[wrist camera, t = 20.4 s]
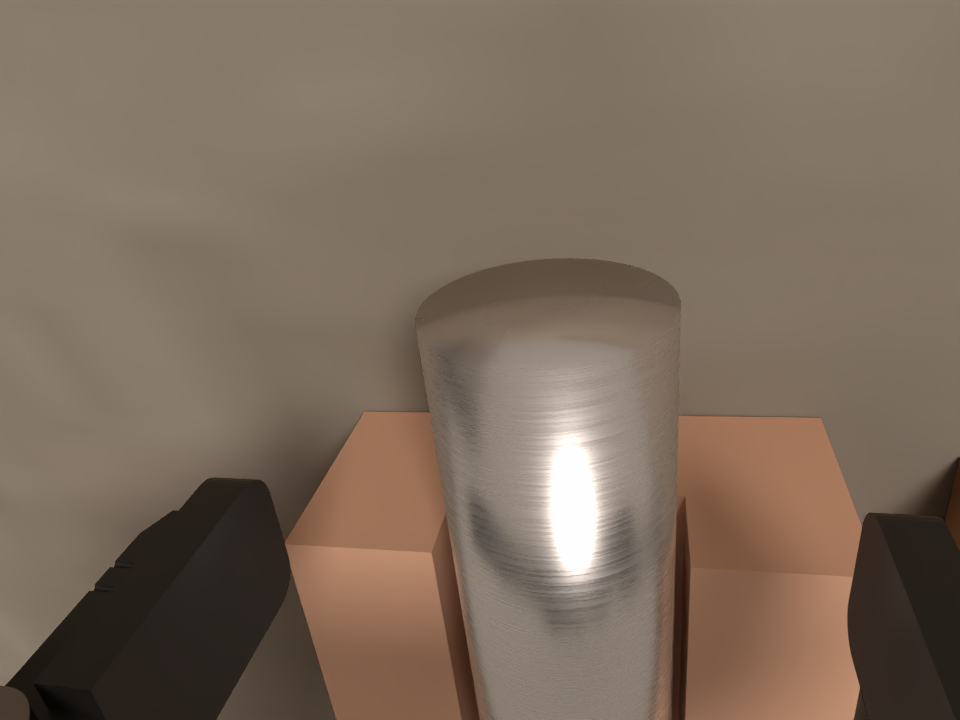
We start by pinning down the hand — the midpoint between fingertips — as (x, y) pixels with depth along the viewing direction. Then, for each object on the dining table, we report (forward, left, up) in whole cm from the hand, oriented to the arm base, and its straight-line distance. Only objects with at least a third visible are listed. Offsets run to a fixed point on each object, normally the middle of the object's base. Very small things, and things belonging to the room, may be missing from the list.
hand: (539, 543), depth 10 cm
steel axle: (+6, 0, -5) cm, 7 cm away
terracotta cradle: (+7, 0, -8) cm, 11 cm away
